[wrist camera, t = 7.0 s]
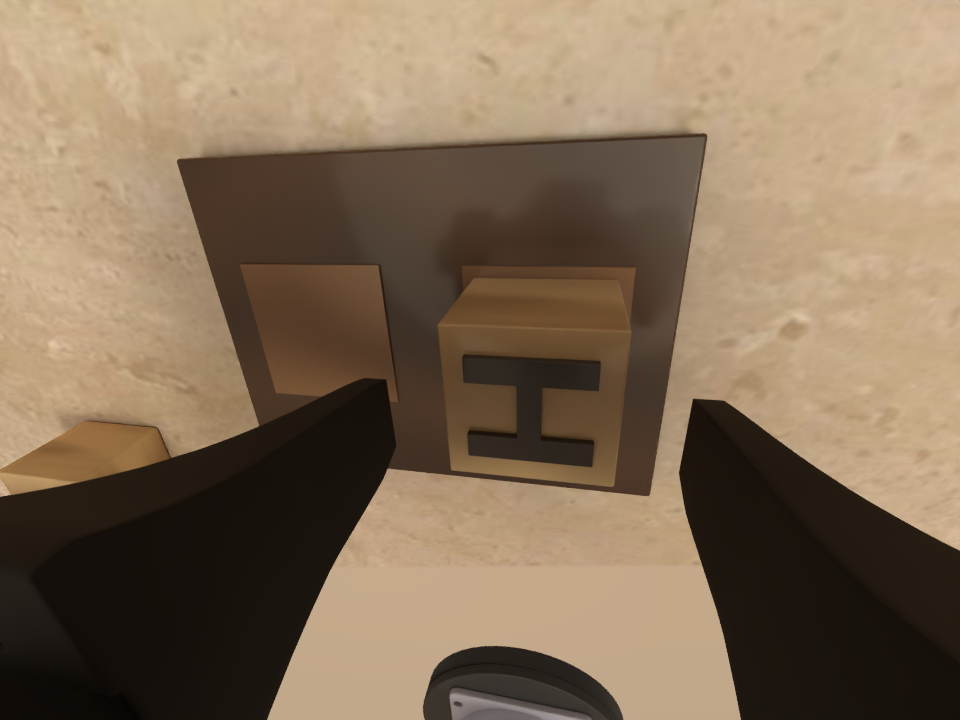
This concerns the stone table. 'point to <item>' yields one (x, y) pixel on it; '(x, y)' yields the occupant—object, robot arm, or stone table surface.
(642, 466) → the word board
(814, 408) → the stone table surface
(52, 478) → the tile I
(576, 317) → the tile
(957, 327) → the stone table surface
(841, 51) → the stone table surface
